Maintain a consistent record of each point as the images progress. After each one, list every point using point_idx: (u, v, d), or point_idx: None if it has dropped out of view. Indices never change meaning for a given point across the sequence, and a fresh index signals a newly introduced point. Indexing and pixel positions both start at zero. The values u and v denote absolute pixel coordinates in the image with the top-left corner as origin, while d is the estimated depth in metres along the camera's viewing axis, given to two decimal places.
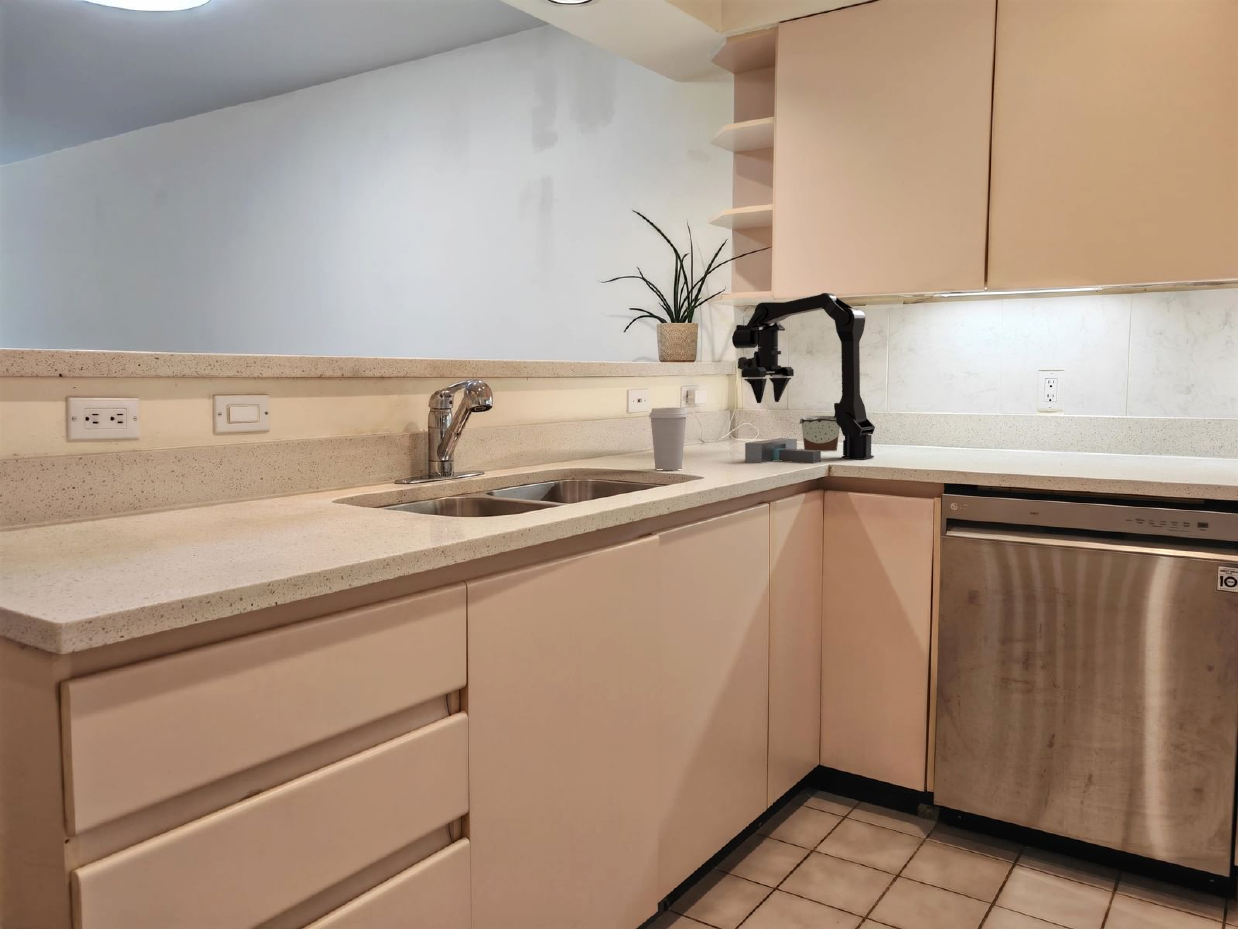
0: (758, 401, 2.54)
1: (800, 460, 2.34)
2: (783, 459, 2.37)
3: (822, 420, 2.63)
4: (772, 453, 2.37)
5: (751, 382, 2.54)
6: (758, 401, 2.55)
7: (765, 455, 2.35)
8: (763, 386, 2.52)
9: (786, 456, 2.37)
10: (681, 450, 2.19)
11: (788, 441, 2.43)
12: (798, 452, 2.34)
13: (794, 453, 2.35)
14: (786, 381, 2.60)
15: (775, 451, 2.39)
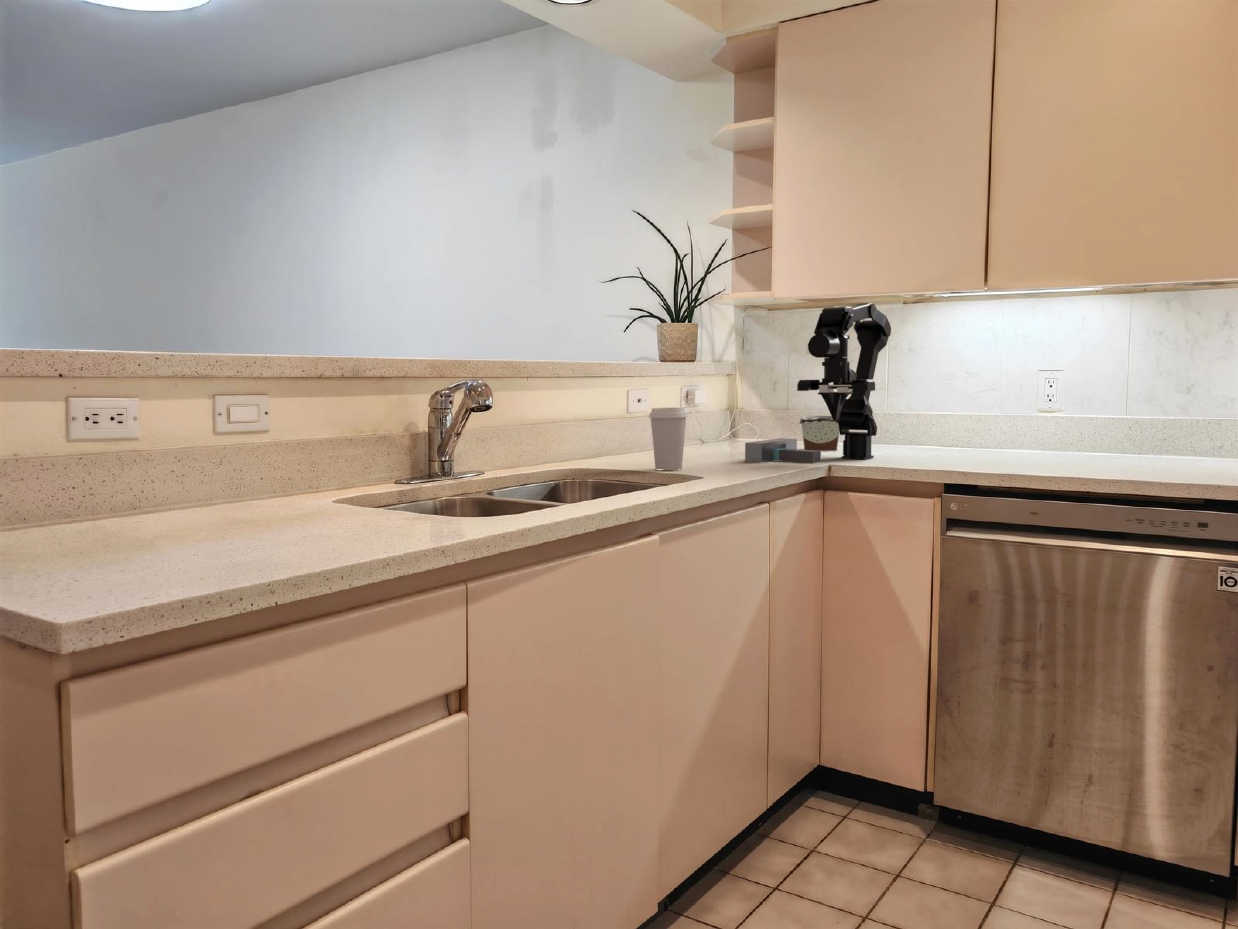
0: None
1: (800, 460, 2.34)
2: (783, 459, 2.37)
3: (822, 420, 2.63)
4: (772, 453, 2.37)
5: None
6: None
7: (765, 455, 2.35)
8: (826, 401, 2.27)
9: (786, 456, 2.37)
10: (681, 450, 2.19)
11: (788, 441, 2.43)
12: (798, 452, 2.34)
13: (794, 453, 2.35)
14: (835, 396, 2.25)
15: (775, 451, 2.39)
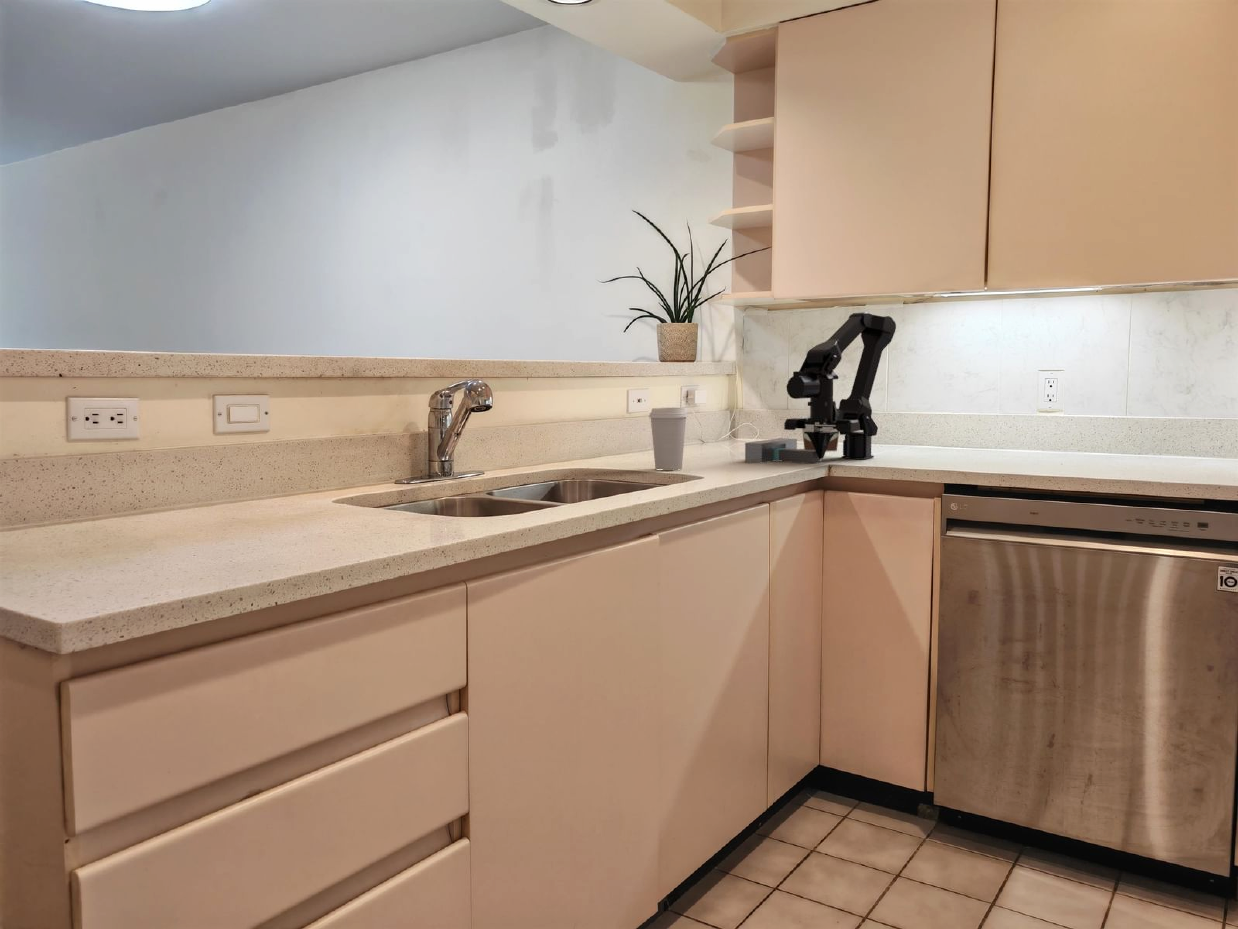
0: None
1: (800, 460, 2.34)
2: (783, 459, 2.37)
3: None
4: (772, 453, 2.37)
5: None
6: None
7: (765, 455, 2.35)
8: (812, 440, 2.31)
9: (786, 455, 2.37)
10: (681, 450, 2.19)
11: (788, 441, 2.43)
12: (798, 452, 2.34)
13: (794, 453, 2.35)
14: (820, 436, 2.29)
15: (775, 451, 2.39)
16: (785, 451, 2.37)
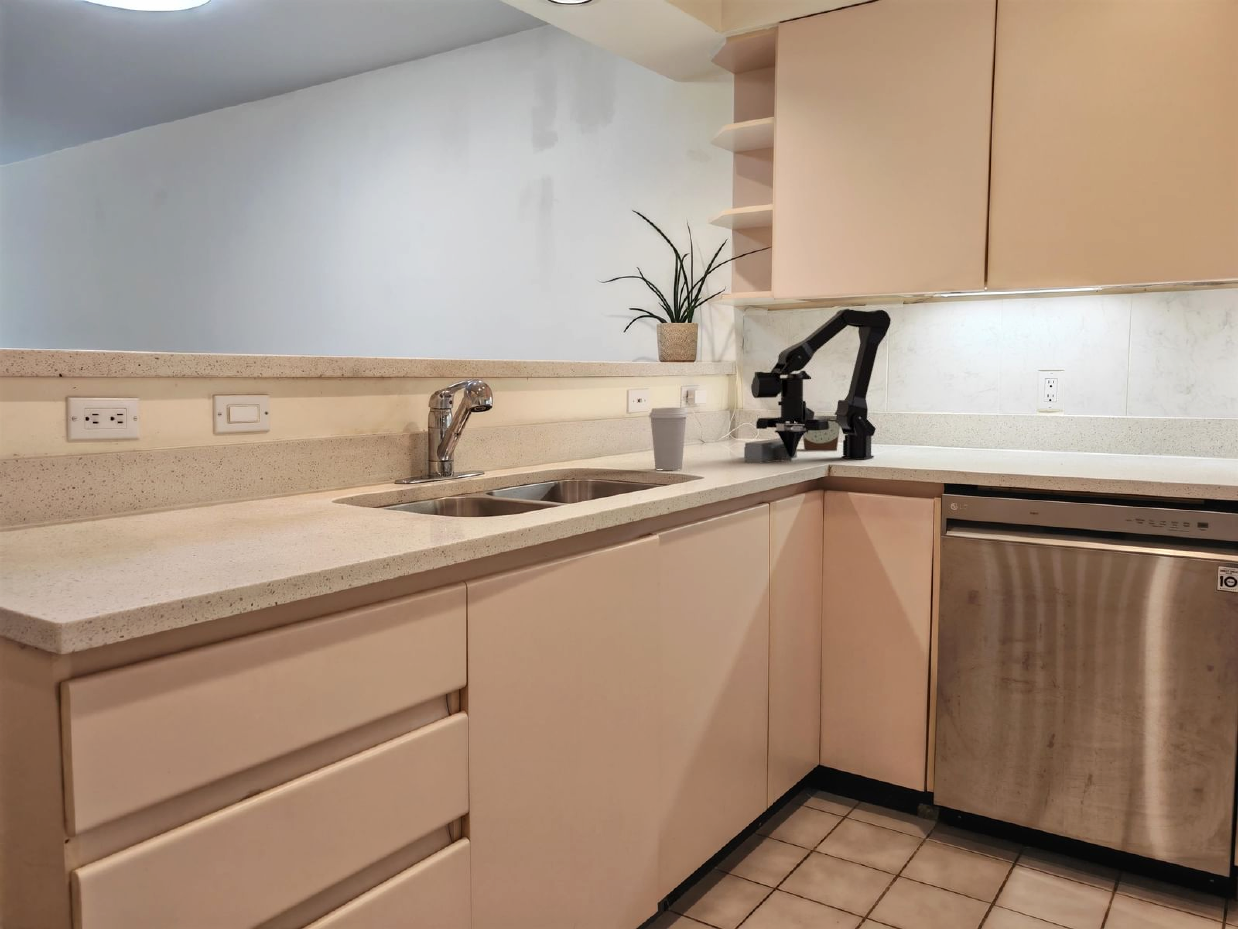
0: None
1: None
2: None
3: None
4: (772, 453, 2.37)
5: None
6: None
7: (765, 455, 2.35)
8: (783, 439, 2.37)
9: None
10: (681, 450, 2.19)
11: None
12: None
13: None
14: (790, 435, 2.35)
15: None
16: None
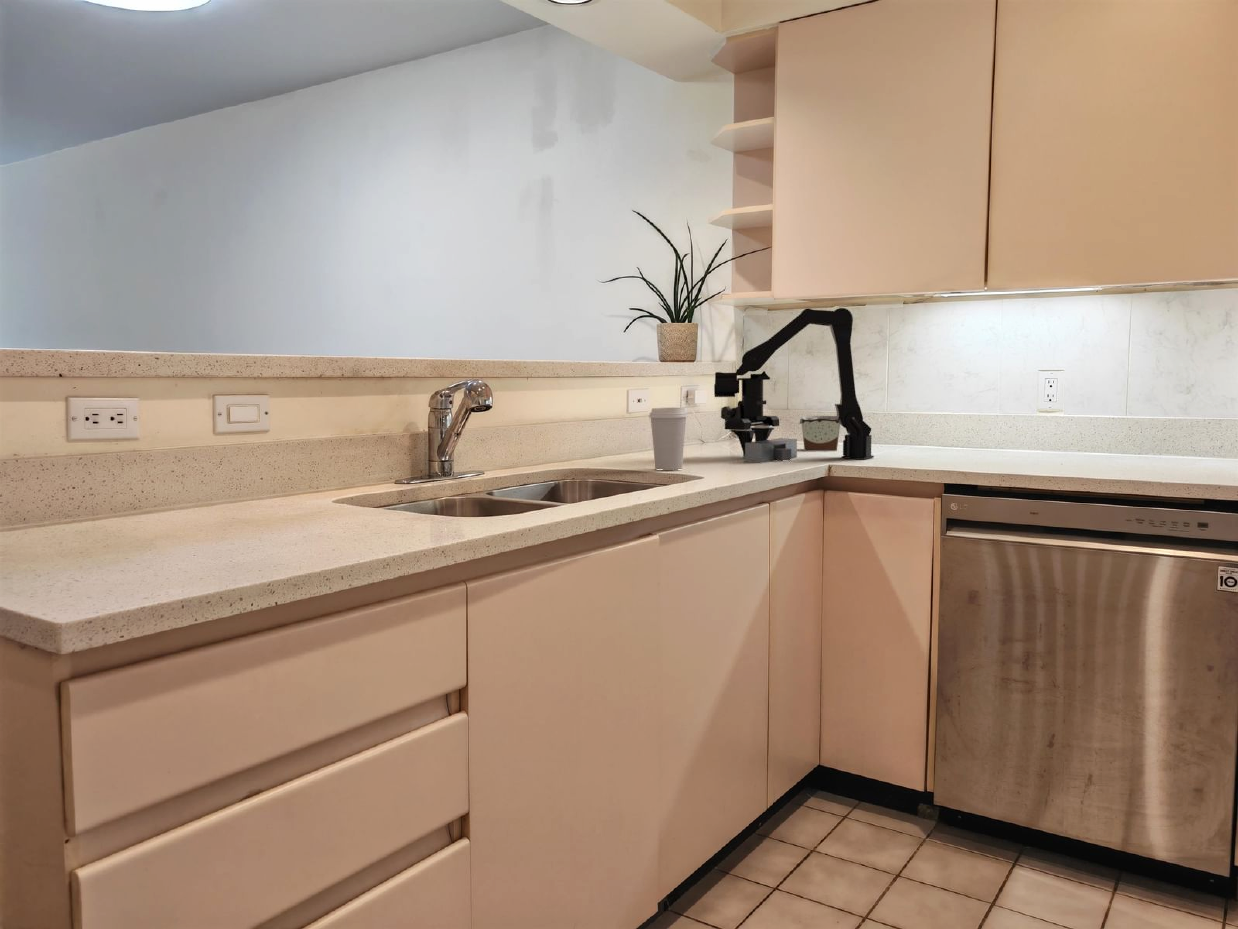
0: None
1: None
2: None
3: (822, 420, 2.63)
4: (772, 453, 2.37)
5: (738, 433, 2.42)
6: None
7: (765, 455, 2.35)
8: (751, 438, 2.41)
9: None
10: (681, 450, 2.19)
11: (788, 441, 2.43)
12: None
13: None
14: (769, 432, 2.46)
15: None
16: None
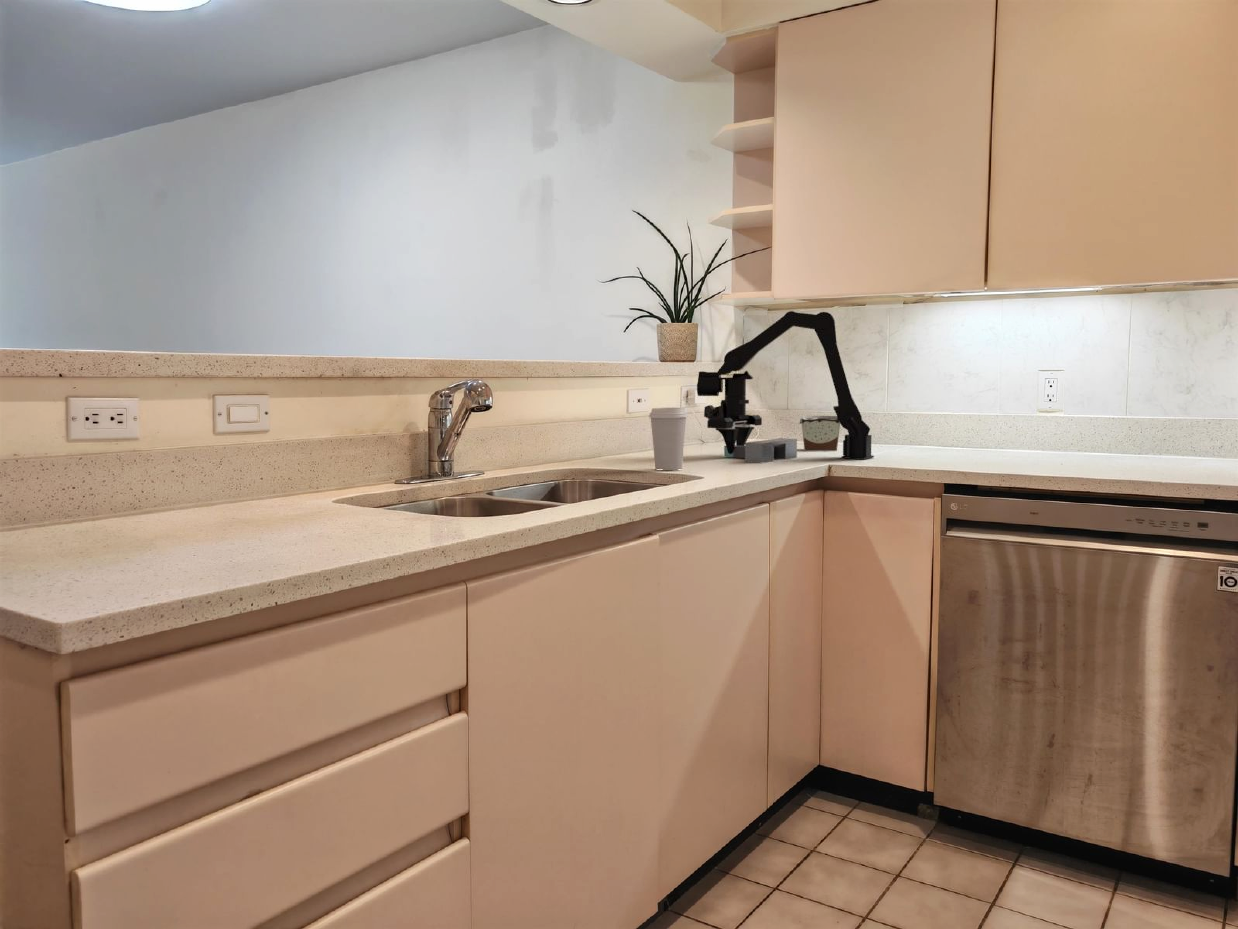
0: (729, 451, 2.47)
1: None
2: (737, 455, 2.46)
3: (822, 420, 2.63)
4: (772, 453, 2.37)
5: (722, 432, 2.46)
6: (730, 451, 2.47)
7: (765, 455, 2.35)
8: (735, 436, 2.45)
9: (740, 452, 2.46)
10: (681, 450, 2.19)
11: (788, 441, 2.43)
12: None
13: None
14: (749, 431, 2.49)
15: None
16: (739, 448, 2.46)
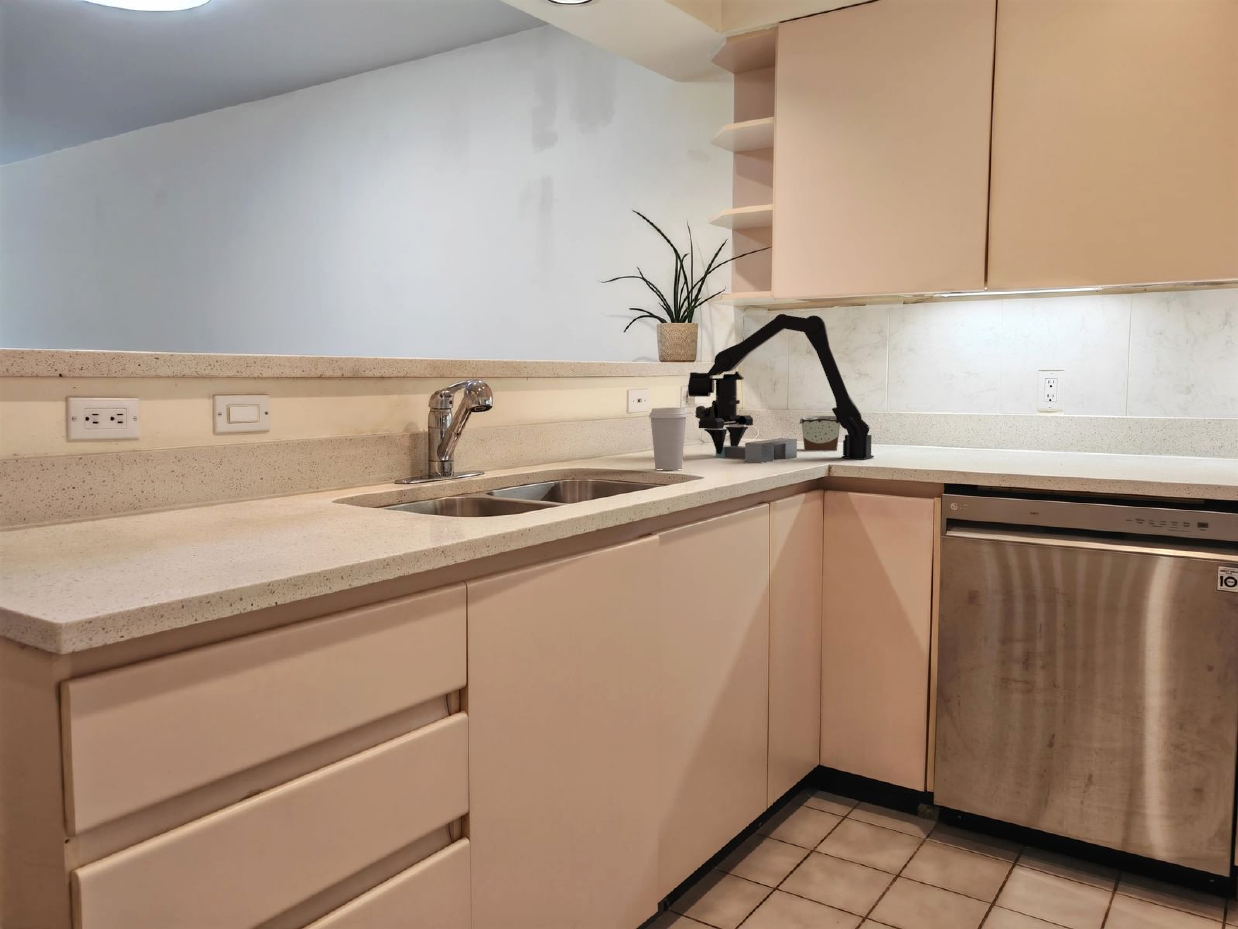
0: (718, 452, 2.48)
1: (743, 457, 2.45)
2: (728, 456, 2.48)
3: (822, 420, 2.63)
4: (772, 453, 2.37)
5: (711, 432, 2.47)
6: (718, 452, 2.48)
7: (765, 455, 2.35)
8: (723, 437, 2.46)
9: (731, 452, 2.48)
10: (681, 450, 2.19)
11: (788, 441, 2.43)
12: (742, 449, 2.45)
13: (738, 450, 2.46)
14: (743, 431, 2.52)
15: None
16: (730, 448, 2.48)
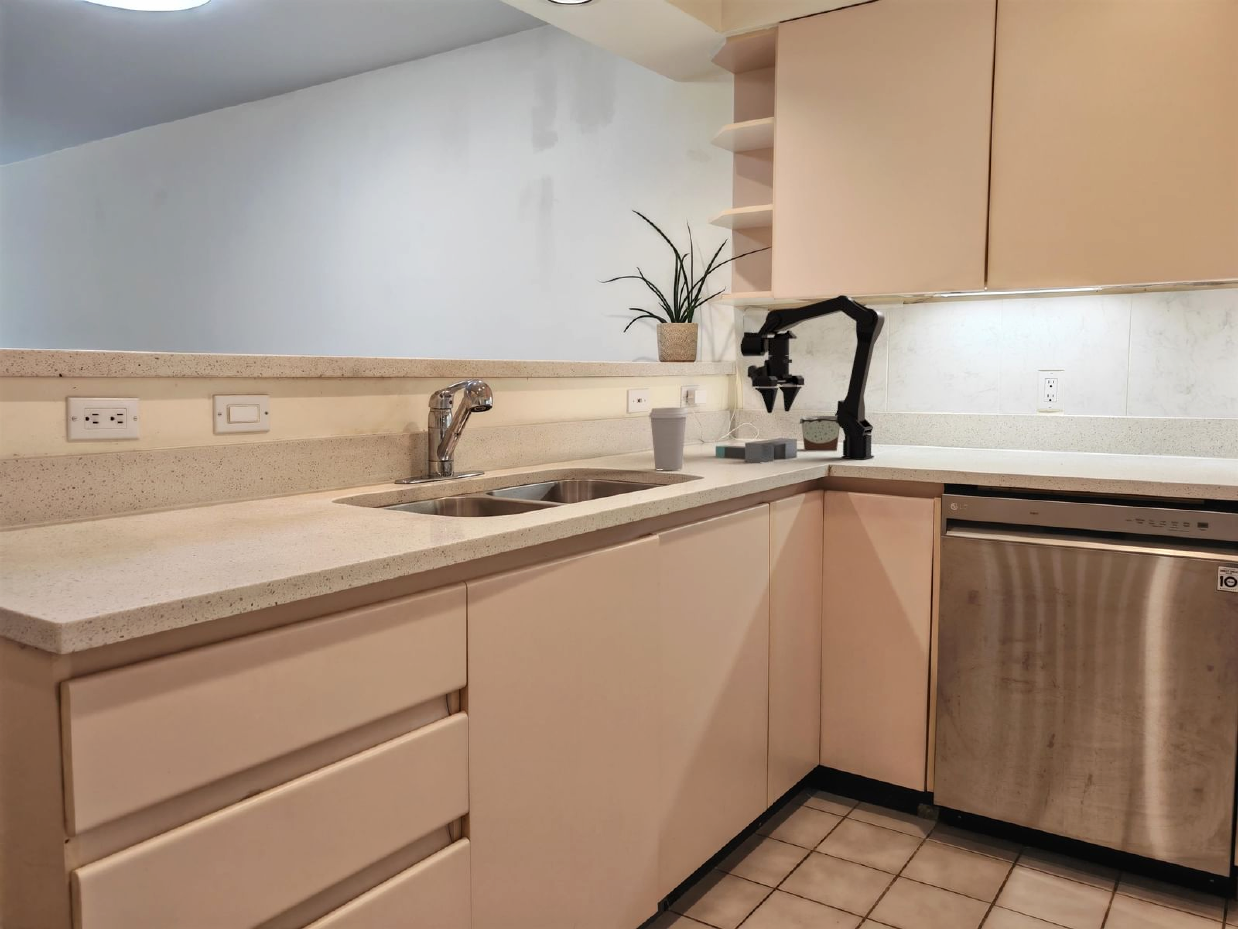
0: (769, 411, 2.48)
1: (743, 457, 2.45)
2: (728, 456, 2.48)
3: (822, 420, 2.63)
4: (772, 453, 2.37)
5: (762, 391, 2.47)
6: (769, 411, 2.48)
7: (765, 455, 2.35)
8: (774, 396, 2.46)
9: (731, 452, 2.48)
10: (681, 450, 2.19)
11: (788, 441, 2.43)
12: (741, 449, 2.45)
13: (738, 450, 2.46)
14: (797, 390, 2.54)
15: (721, 448, 2.50)
16: (730, 448, 2.48)
